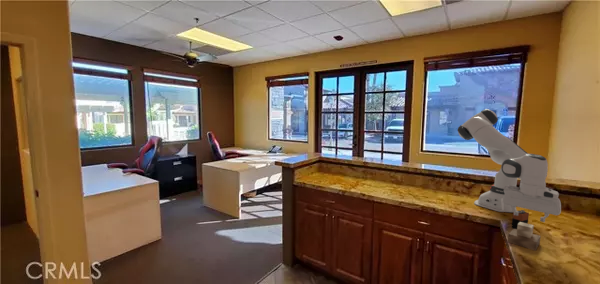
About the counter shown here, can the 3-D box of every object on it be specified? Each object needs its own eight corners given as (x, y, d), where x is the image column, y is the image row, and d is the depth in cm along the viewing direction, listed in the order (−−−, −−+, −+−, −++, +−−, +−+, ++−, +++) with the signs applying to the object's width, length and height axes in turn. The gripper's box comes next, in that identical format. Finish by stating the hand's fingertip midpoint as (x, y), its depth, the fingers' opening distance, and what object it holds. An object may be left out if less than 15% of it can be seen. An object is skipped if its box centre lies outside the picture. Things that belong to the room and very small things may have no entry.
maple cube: (516, 234, 124) (517, 224, 123) (518, 231, 127) (520, 221, 126) (530, 238, 120) (531, 228, 119) (532, 235, 123) (533, 225, 122)
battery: (510, 228, 140) (513, 210, 139) (517, 226, 143) (519, 208, 142) (520, 231, 136) (522, 213, 135) (527, 229, 139) (529, 211, 138)
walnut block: (507, 241, 124) (508, 233, 124) (512, 236, 131) (513, 228, 130) (535, 250, 117) (536, 242, 116) (539, 243, 123) (540, 235, 123)
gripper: (502, 185, 126) (499, 213, 128) (562, 196, 111) (558, 227, 112) (505, 183, 130) (503, 210, 132) (563, 193, 115) (559, 223, 117)
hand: (528, 218), depth 122 cm, fingers open, 8 cm apart
